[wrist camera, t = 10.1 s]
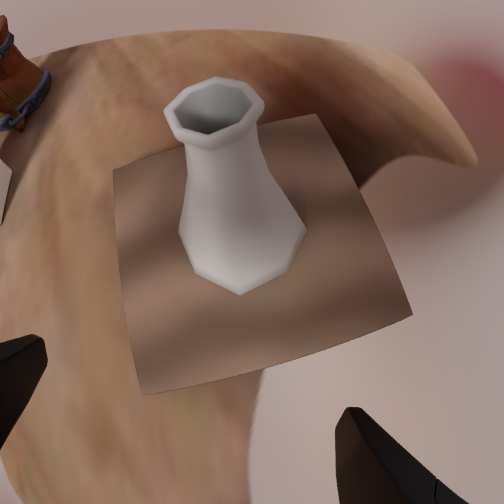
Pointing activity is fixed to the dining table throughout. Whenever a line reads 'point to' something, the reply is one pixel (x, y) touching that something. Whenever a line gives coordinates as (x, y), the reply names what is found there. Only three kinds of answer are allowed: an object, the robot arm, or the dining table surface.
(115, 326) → the dining table surface
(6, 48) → the mug
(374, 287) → the walnut board
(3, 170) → the milk carton
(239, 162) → the flask
